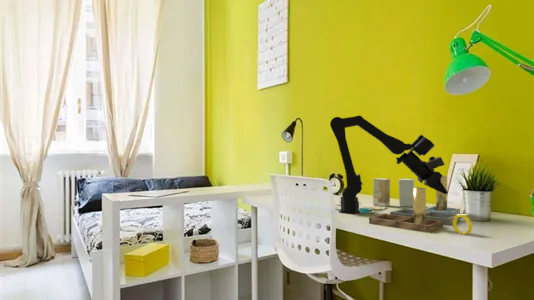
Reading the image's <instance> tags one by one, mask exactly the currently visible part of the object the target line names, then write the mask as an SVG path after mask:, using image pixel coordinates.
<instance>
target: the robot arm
mask: <svg viewBox="0 0 534 300" xmlns="http://www.w3.org/2000/svg"><path fill="white" fill-rule="evenodd" d="M329 124H330V125H329V126H330V128H331V130H332V133H333V134H334V137H335V139H336V140H337V144H338V147H339V152H340V156H341V159H342V163H343V167H344V172H345V178H346V179H345V180H346V186H345V187H344V189H342V190H341V196H340V210H338V213H344V214H350V215H351V214H357V213H360V212H361V210H360V202H359V197H357V195H359V194H360V193H361V191H362V186H363V185H364V184H363V182H362V178H361V177H362V176H361V174H360V173H358V174H357V173H356V171H355V167H354V163H353V160H352V156H351V153H350V149H349V146H348V145H349V144H348V142H347V137H346V129H347V128H351V127H356V126H357V127H359V128H360V129H362V130H363V131H365V132H366V133H367V134H368V135H370V136H372V137H373V138H374V139H376V140H378V141H379V142H380V143H381V144H383V146H384V147H385V148H386V149H387V150H388V151H389V152H390V153H391V154H393V155H400V156H399V157H397V156H396V157H395V161H396V162H395V163H396V165H400V164H401V163H403V165H404V166H405V167H407V169H409V170H410V172H411V173H413V174H414V175H415V176H416V177H417V181H418V182H420V183H421V184H423V185H424V186H425V187H426V186H427V187H429V188H431V189H433V190H435V191H436V190H437V191H439V192H442V193H444V194H447V195H448V189H447V190H446V189H445V187H444V186H443V184H442V183H441V177H442V176H444V175H443V174H441V172H440V171H435V169H436V168H439V167H443V166H444V165H445V162H444V160H443V159H442V157H441V156H437V157H435V156H430V157H428V161H424V160H422V159H421V158H420V157H421V156H423V157H425V156H426V155H427V154H428V153H429V152H430V151H431V150H432V149H433V148H434V147H435V143H434V142H433V141H431V140H430V139H428V138H427V137H425V136H424V135H423V134H420V135H418V137H417V138H416V139H415V140H414V141H413V142H412V143H410V142H409V143H405V142H404V141H403V140H402V139H399V138H397V137H394V136H391V135H389V134H387V133H385V132H384V131H383V130H381V129H380V128H379V127H377V126H375V125H373V123H371V122H370V121H368V120H367V119H365V117H363V116H361V115H356V116H350V117H344V118H343V117H339V116H336V117H335V116H334V117H333V118H332V119H331V120H330V123H329ZM406 151H408V152H406Z"/></svg>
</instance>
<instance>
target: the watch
mask: <svg viewBox="0 0 534 300" xmlns="http://www.w3.org/2000/svg"><path fill="white" fill-rule="evenodd" d="M458 217H460V218H463V219H464V220H465V221H466V223H467V229H466V231H465V232H464V231H461V230H460V229H459V227H458V225H457V223H458V222H457V219H458ZM452 227H453V229H454V231H455V232H456V233H457V232H458V233H457V234H461V233H463V234H462V235H464V234H465V235H468V234H470V233H471V232H472V229H473V223H472V221H471V219H470V218H469V216H468V214H466V213H462V214H457V216H455V217H454V219H453V223H452Z"/></svg>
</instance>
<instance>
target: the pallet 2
mask: <svg viewBox="0 0 534 300" xmlns="http://www.w3.org/2000/svg"><path fill="white" fill-rule="evenodd" d="M389 214H393V215H400V216H408V217H413V208H411V209H410V208H401V209H398V210H397V209H396V210H393V211H390V212H389ZM455 216H457V215H456V214H448V213H439V212H430V211H426V219H431V220H439V221H443V226H450V225H453V219H454V217H455ZM457 221H458V222H460V221H461V217H458V219H457Z"/></svg>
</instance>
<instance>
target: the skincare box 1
mask: <svg viewBox="0 0 534 300" xmlns="http://www.w3.org/2000/svg"><path fill="white" fill-rule="evenodd" d="M372 184H373V187H372V192H373V194H372V195H373V196H372V205H373V206H375V205H376V206H378V207H384V208H386V207H390V205H391V201H390V200H391V179H390V178H381V177H377V178H373V183H372Z"/></svg>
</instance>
